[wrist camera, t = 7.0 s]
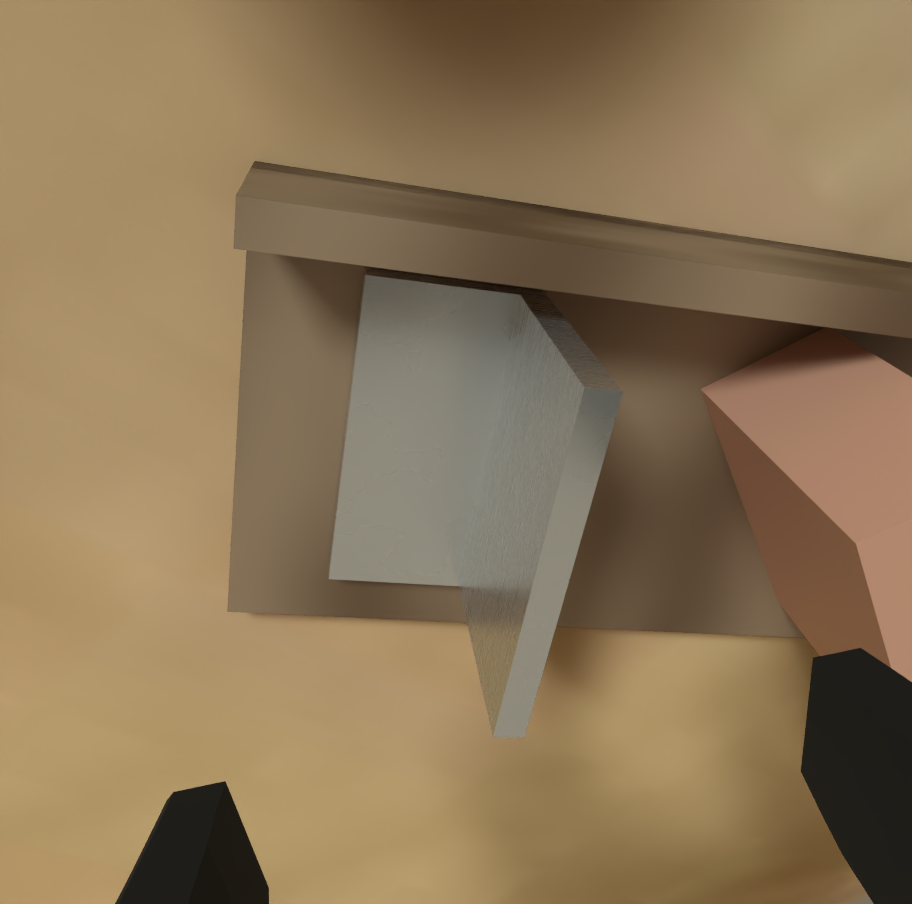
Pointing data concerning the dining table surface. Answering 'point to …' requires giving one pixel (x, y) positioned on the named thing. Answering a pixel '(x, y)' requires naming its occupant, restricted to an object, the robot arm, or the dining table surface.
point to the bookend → (473, 463)
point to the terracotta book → (827, 488)
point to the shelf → (603, 331)
